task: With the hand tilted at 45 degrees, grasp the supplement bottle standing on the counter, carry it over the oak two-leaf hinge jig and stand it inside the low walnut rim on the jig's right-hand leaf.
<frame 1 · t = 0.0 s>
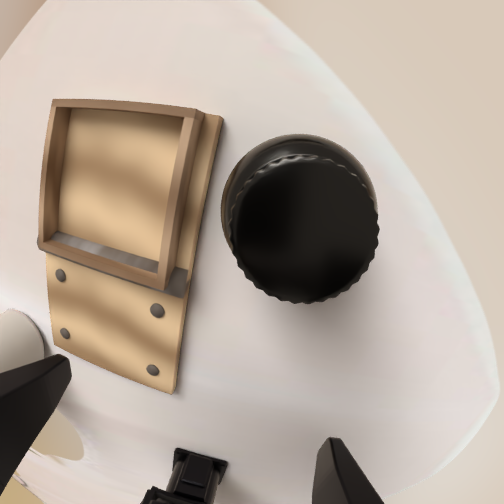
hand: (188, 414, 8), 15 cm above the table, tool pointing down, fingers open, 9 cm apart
can: (28, 332, 29), on the table
supplement bottle: (295, 193, 21), on the table
hinge jig: (113, 254, 24), on the table
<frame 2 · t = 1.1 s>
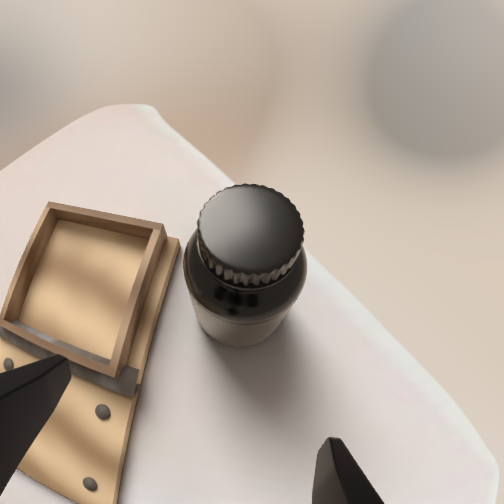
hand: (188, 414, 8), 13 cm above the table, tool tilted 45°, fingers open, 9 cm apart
supplement bottle: (239, 306, 24), on the table
hinge jig: (65, 356, 21), on the table
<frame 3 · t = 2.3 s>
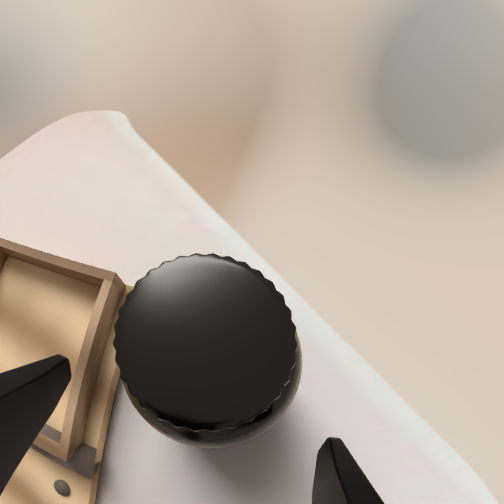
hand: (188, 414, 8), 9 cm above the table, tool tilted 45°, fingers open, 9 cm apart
supplement bottle: (216, 375, 18), on the table
hinge jig: (20, 418, 14), on the table
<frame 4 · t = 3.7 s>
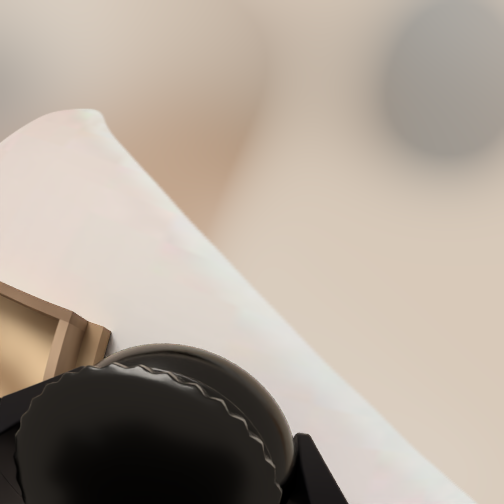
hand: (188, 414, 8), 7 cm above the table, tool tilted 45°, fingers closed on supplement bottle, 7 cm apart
supplement bottle: (197, 429, 14), on the table, touching gripper
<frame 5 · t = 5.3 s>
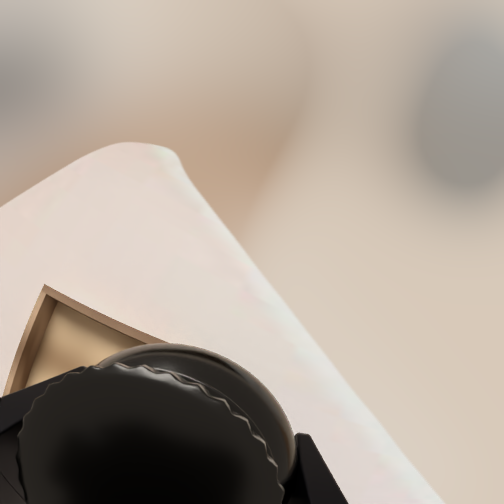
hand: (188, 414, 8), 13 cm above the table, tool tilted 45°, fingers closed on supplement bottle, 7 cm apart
supplement bottle: (198, 429, 14), point 6 cm above the table, touching gripper
hinge jig: (71, 452, 17), on the table
when the fingers open (9 cm above the table, at t = 7.3 s): supplement bottle drops 1 cm, resting on hinge jig.
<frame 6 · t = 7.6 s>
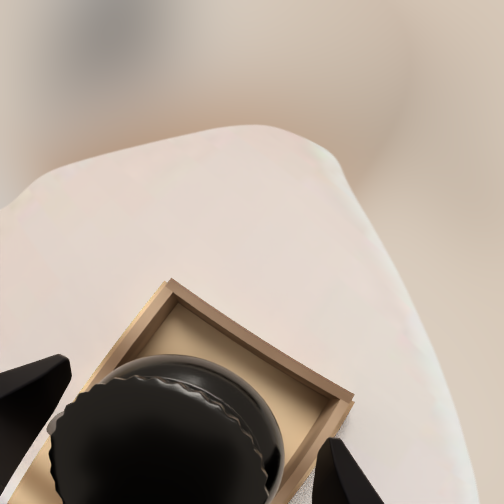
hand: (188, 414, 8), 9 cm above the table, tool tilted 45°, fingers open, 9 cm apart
supplement bottle: (198, 428, 15), point 1 cm above the table, touching hinge jig
hinge jig: (150, 491, 14), on the table
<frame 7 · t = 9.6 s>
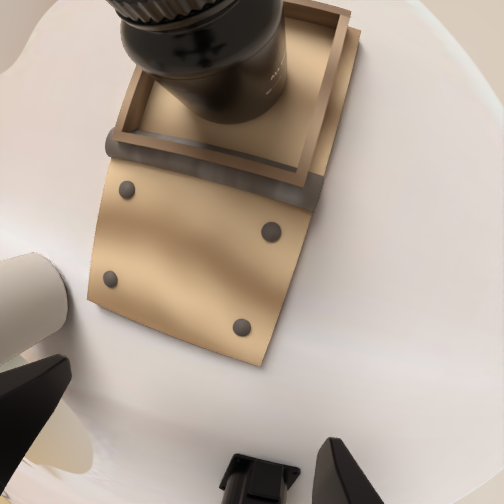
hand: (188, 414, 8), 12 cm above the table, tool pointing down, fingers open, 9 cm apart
can: (46, 290, 23), on the table
supplement bottle: (234, 78, 17), point 1 cm above the table, touching hinge jig
hinge jig: (211, 163, 19), on the table
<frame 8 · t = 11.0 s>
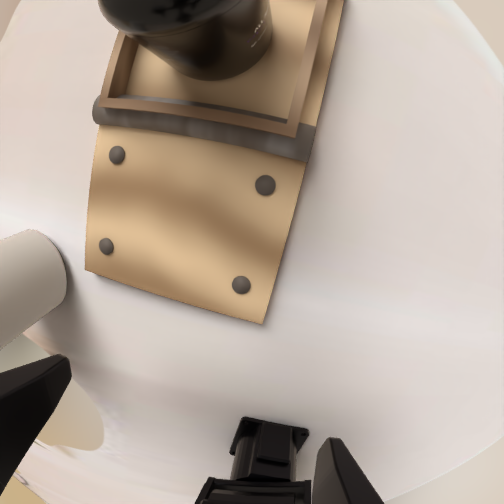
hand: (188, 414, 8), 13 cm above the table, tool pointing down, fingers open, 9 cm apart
can: (45, 266, 23), on the table
supplement bottle: (219, 35, 15), point 1 cm above the table, touching hinge jig
hinge jig: (201, 121, 18), on the table
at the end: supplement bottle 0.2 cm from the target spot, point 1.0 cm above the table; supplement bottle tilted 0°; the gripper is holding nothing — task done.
